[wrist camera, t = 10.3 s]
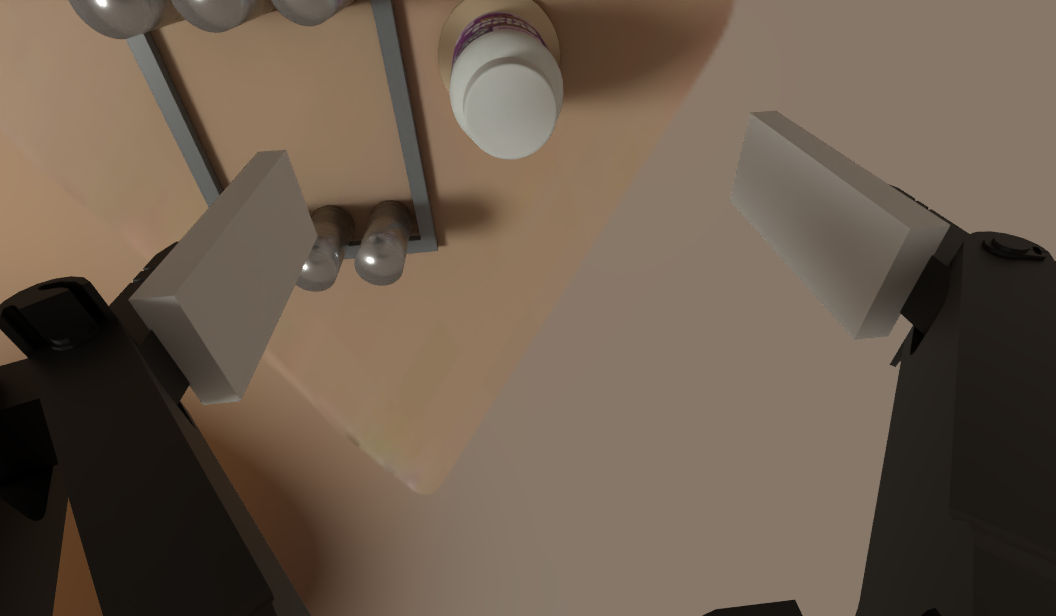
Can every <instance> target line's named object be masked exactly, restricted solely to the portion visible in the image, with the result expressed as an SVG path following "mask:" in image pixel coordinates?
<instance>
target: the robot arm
mask: <svg viewBox="0 0 1056 616" xmlns="http://www.w3.org/2000/svg"><path fill="white" fill-rule="evenodd" d="M730 201H731V202H732V204H733V205H734V206H735V207H736V208H737V209H738V210H739V211H740V212H741V213H742V215H743V216H744V217H745V218H746V219H747V220H748V221H749V223H751V225H752V226H753V227H754V228H755V229H756V230H757V231H758V233H759V234H760V235H761V236H762V237H763V238H764V239H765V240H766V242H767V243H768V244H769V245H770V246H771V247H772V248H773V249H774V250H775V252H776V253H777V254H778V255H779V256H780V257H781V258H782V259H783V260H784V262H785V263H786V264H787V265H788V266H789V267H790V268H791V269H792V270H793V272H794V273H795V274H796V275H797V276H798V277H799V278H800V280H801V281H802V282H803V283H804V284H805V285H806V286H807V287H808V288H809V290H810V291H811V292H812V293H813V294H814V295H815V296H816V297H817V299H818V300H819V301H820V302H821V303H822V304H823V305H824V306H825V307H826V309H827V310H828V311H829V312H830V313H831V314H832V315H833V316H834V317H835V319H836V320H837V321H838V322H839V323H840V324H841V325H842V326H843V327H844V329H845V330H846V331H847V332H848V333H849V334H850V335H851V336H852V338H853V339H864V338H874V337H884V336H888V335H889V333H890V332H891V330H892V328H893V326H894V325H895V323H896V321H897V319H898V318H899V316H900V314H902V315H903V316H904V317H905V318H906V319H907V320H908V321H910V322H911V323H912V324H913V327H912V328H911V330H910V332H909V333H908V335H907V337H906V339H905V340H904V342H903V343H902V345H901V347H900V348H899V350H898V352H897V353H896V355H895V357H894V358H893V360H892V362H891V363H890V365H892V366H895V367H896V366H897V364H898V363H899V362H900V361H901V365H900V370H899V376H898V382H897V388H896V393H895V400H894V405H893V411H892V417H891V422H890V428H889V434H888V440H887V445H886V451H885V457H884V464H883V469H882V474H881V480H880V486H879V492H878V497H877V504H876V509H875V515H874V520H873V526H872V532H871V538H870V544H869V549H868V555H867V561H866V567H865V573H864V579H863V584H862V590H861V596H860V601H859V605H858V609H857V612H856V615H855V616H1056V261H1054V259H1053V258H1052V256H1051V255H1050V253H1049V252H1048V251H1047V250H1045V249H1044V248H1043V247H1041V246H1039V245H1037V244H1035V243H1033V242H1031V241H1028V240H1026V239H1024V238H1020V237H1017V236H1013V235H1009V234H1005V233H998V232H975V233H972V234H969V233H967V232H966V231H964V230H962V229H961V228H959V227H958V226H956V225H955V224H953V223H952V222H950V221H948V220H947V219H945V218H944V217H942V216H941V215H939V214H938V213H936V212H935V211H933V210H928V207H927V206H925V205H924V204H922V203H921V202H919V201H915V198H913V197H912V196H910V195H908V194H907V193H905V192H904V191H902V190H901V189H899V188H897V187H894V186H892V185H889V184H887V183H886V182H884V181H882V180H881V179H879V178H878V177H876V176H875V175H873V174H872V173H870V172H869V171H867V170H866V169H864V168H863V167H861V166H860V165H858V164H856V163H855V162H853V161H852V160H850V159H849V158H847V157H846V156H844V155H843V154H841V153H840V152H838V151H837V150H835V149H834V148H832V147H830V146H829V145H828V144H826V143H824V142H823V141H821V140H820V139H818V138H817V137H815V136H814V135H812V134H811V133H809V132H808V131H806V130H804V129H803V128H802V127H800V126H798V125H797V124H795V123H794V122H792V121H791V120H789V119H788V118H786V117H785V116H783V115H782V114H780V113H779V112H777V111H767V112H754V113H750V115H749V120H748V124H747V129H746V133H745V137H744V141H743V145H742V150H741V154H740V158H739V162H738V167H737V171H736V176H735V180H734V184H733V188H732V193H731V197H730ZM317 237H318V236H317V233H316V230H315V227H314V225H313V222H312V219H311V217H310V214H309V211H308V208H307V206H306V203H305V200H304V197H303V195H302V192H301V189H300V187H299V184H298V181H297V178H296V176H295V173H294V170H293V167H292V165H291V162H290V159H289V157H288V154H287V151H286V150H277V151H264V152H257V154H256V155H255V156H254V157H253V158H252V159H251V160H250V162H249V163H248V164H247V165H246V166H245V167H244V168H243V169H242V171H241V172H240V173H239V174H238V175H237V176H236V177H235V179H234V180H233V181H232V182H231V183H230V184H229V185H228V187H227V188H226V189H225V190H224V191H223V192H222V193H221V195H220V196H219V197H218V198H217V199H216V200H215V201H214V203H213V204H212V205H211V206H210V207H209V208H208V209H207V211H206V212H205V213H204V214H203V215H202V216H201V217H200V219H199V220H198V221H197V222H196V223H195V224H194V225H193V227H192V228H191V229H190V230H189V231H188V232H187V233H186V234H185V236H184V237H183V238H182V239H181V240H180V241H179V242H175V243H173V244H172V245H170V246H169V247H167V248H166V249H164V250H162V251H161V252H159V253H158V254H156V255H155V256H154V257H153V258H152V259H151V261H150V262H149V263H148V264H147V265H146V266H145V267H144V268H143V269H144V271H141V272H140V273H139V274H138V275H137V276H136V277H135V278H134V279H133V283H130V284H129V285H128V286H127V287H126V288H125V289H124V290H123V291H122V293H120V295H119V296H118V297H117V298H116V299H115V300H114V301H113V302H112V303H111V304H110V306H108V305H107V303H106V302H105V301H104V300H103V298H102V297H101V296H100V294H99V293H98V292H97V290H96V289H95V288H94V286H93V285H92V284H91V282H90V281H88V280H87V279H85V278H84V277H72V276H71V277H64V278H57V279H52V280H49V281H46V282H42V283H39V284H36V285H34V286H31V287H29V288H27V289H25V290H22V291H20V292H18V293H16V294H15V295H13V296H12V297H10V298H8V299H7V300H5V301H4V302H3V303H2V304H0V329H1V330H2V331H3V332H4V333H5V334H6V335H7V336H8V338H9V339H11V341H12V342H13V343H14V344H15V345H16V346H17V347H18V348H19V349H20V350H21V351H22V352H23V353H24V354H25V355H26V356H27V357H28V358H27V359H24V360H20V361H17V362H13V363H10V364H6V365H2V366H0V616H52V614H53V607H54V599H55V592H56V584H57V577H58V570H59V562H60V555H61V547H62V540H63V532H64V525H65V517H66V510H67V503H68V497H69V501H70V504H71V507H72V511H73V514H74V518H75V521H76V525H77V528H78V532H79V535H80V538H81V542H82V545H83V548H84V552H85V556H86V559H87V562H88V566H89V569H90V572H91V576H92V579H93V583H94V586H95V590H96V593H97V597H98V600H99V603H100V607H101V610H102V614H103V616H311V615H310V613H309V611H308V610H307V608H306V606H305V605H304V603H303V601H302V600H301V598H300V597H299V595H298V593H297V591H296V590H295V588H294V586H293V585H292V583H291V582H290V580H289V578H288V577H287V575H286V573H285V572H284V570H283V568H282V567H281V565H280V563H279V562H278V560H277V558H276V557H275V555H274V553H273V552H272V550H271V548H270V547H269V545H268V544H267V542H266V540H265V538H264V537H263V535H262V533H261V532H260V530H259V529H258V527H257V525H256V523H255V522H254V520H253V518H252V517H251V515H250V513H249V512H248V510H247V509H246V507H245V505H244V503H243V502H242V500H241V498H240V497H239V495H238V493H237V492H236V490H235V489H234V487H233V485H232V484H231V482H230V480H229V479H228V477H227V475H226V474H225V472H224V470H223V469H222V467H221V465H220V464H219V462H218V460H217V459H216V457H215V455H214V454H213V452H212V450H211V449H210V447H209V446H208V444H207V442H206V440H205V439H204V437H203V436H202V434H201V432H200V430H199V429H198V427H197V426H196V424H195V422H194V421H193V419H192V417H191V415H190V414H189V412H188V411H187V410H186V408H185V407H184V406H183V404H182V403H181V401H180V400H181V398H182V396H183V395H184V393H185V391H186V390H187V388H188V386H190V387H191V388H192V390H193V391H194V392H195V394H196V395H197V397H198V398H199V399H200V401H201V402H202V404H203V405H204V404H215V403H225V402H235V401H241V400H242V397H243V395H244V393H245V391H246V389H247V387H248V384H249V382H250V380H251V378H252V376H253V374H254V371H255V370H256V367H257V365H258V363H259V361H260V359H261V357H262V355H263V352H264V350H265V348H266V346H267V344H268V342H269V340H270V337H271V335H272V333H273V331H274V329H275V327H276V325H277V322H278V320H279V318H280V316H281V314H282V312H283V310H284V307H285V305H286V303H287V301H288V299H289V297H290V295H291V292H292V290H293V288H294V286H295V284H296V282H297V280H298V277H299V275H300V273H301V271H302V269H303V267H304V265H305V262H306V260H307V258H308V256H309V254H310V252H311V250H312V247H313V245H314V243H315V241H316V239H317ZM703 616H802V614H801V611H800V609H799V607H798V605H797V603H796V601H795V600H789V601H781V602H773V603H764V604H757V605H748V606H740V607H731V608H723V609H716V610H714V611H712V612H709V613H707V614H705V615H703Z"/></svg>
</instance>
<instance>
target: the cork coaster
mask: <svg viewBox="0 0 1056 616" xmlns="http://www.w3.org/2000/svg"><path fill="white" fill-rule="evenodd" d="M492 11H505V12H511V13H513V14H516V15H518V16H520V17H522V18H524V19H525V20H527V21H528V22H529V23H530V24H532V25H533V26H534V28H535V29H536V30H537V31H538V33H539V34H540V36H541V37H542V39H543V40H544V42H545V44H546V45H547V47H548V49H549V50H550V52H551V54H552V55H553V57H554V58H555V60H556V62H557V64H558V66H559V69H560V46H559V41H558V37H557V34H556V31H555V29H554V27H553V25H552V23H551V21H550V19H549V18H548V16H547V15H546V14H545V12H544V11H543V10H542V9H541V7H539V6H538V5H537V4H536V3H535V2H534V1H533V0H463V1H462V2H461V3H460V4H459V5H458V6H457V7H456V8H455V9H454V10H453V12H452V13H451V14H450V16H449V18H448V19H447V21H446V23H445V25H444V28H443V30H442V34H441V37H440V42H439V48H438V61H439V69H440V74H441V77H442V80H443V83H444V85H445V87H446V89H447V91H448V93H449V94H450V91H449V86H450V76H451V68H452V60H453V54H454V49H455V45H456V42H457V40H458V38H459V36H460V34H461V32H462V30H463V29H464V28H465V27H466V26H467V25H468V24H469V23H470V22H471V21H472V20H473V19H475V18H476V17H478V16H480V15H482V14H485V13H488V12H492Z"/></svg>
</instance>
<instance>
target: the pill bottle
mask: <svg viewBox="0 0 1056 616" xmlns="http://www.w3.org/2000/svg"><path fill="white" fill-rule="evenodd" d="M449 91H450V100H451V107H452V109H453V112H454V115H455V117H456V120H457V121H458V123H459V125H460V126H461V128H462V129H463V130H464V132H465V133H466V134H467V135H468V136H469V137H470V138H471V139H473V141H474V142H475V143H476V144H477V145H478V146H479V147H480V148H481V149H482V150H484V151H485V152H487V153H488V154H490V155H492V156H495V157H498V158H502V159H519V158H524V157H526V156H529V155H531V154H533V153H534V152H536V151H537V150H539V149H540V148H541V147H542V146H543V145H544V144H545V143H546V142H547V140H548V139H549V138H550V136H551V134H552V132H553V130H554V127H555V124H556V121H557V119H558V116H559V114H560V111H561V107H562V103H563V79H562V74H561V71H560V69H559V66H558V64H557V62H556V60H555V58H554V57H553V55H552V54H551V52H550V50H549V49H548V47H547V45H546V44H545V42H544V40H543V39H542V37H541V36H540V34H539V33H538V31H537V30H536V29H535V28H534V26H533V25H532V24H530V23H529V22H528V21H527V20H525V19H524V18H522V17H520V16H518V15H516V14H513V13H511V12H505V11H492V12H488V13H485V14H482V15H480V16H478V17H476V18H475V19H473V20H472V21H471V22H470V23H469V24H468V25H467V26H466V27H465V28H464V29H463V30H462V32H461V34H460V36H459V38H458V40H457V42H456V45H455V49H454V54H453V60H452V68H451V76H450V86H449Z"/></svg>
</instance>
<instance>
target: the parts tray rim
mask: <svg viewBox="0 0 1056 616" xmlns="http://www.w3.org/2000/svg"><path fill="white" fill-rule="evenodd" d="M371 4H372V8H373V13H374V18H375V23H376V28H377V32H378V37H379V42H380V47H381V51H382V56H383V61H384V66H385V70H386V75H387V80H388V85H389V89H390V94H391V99H392V104H393V108H394V113H395V118H396V123H397V127H398V132H399V137H400V142H401V146H402V151H403V156H404V161H405V165H406V170H407V175H408V180H409V185H410V189H411V194H412V199H413V204H414V208H415V213H416V218H417V223H418V227H419V232H420V236H413V237H409V242H408V247H407V252H406V254H408V253H419V252H430V251H438V243H437V238H436V232H435V227H434V222H433V216H432V211H431V206H430V200H429V195H428V190H427V184H426V179H425V174H424V168H423V163H422V158H421V152H420V147H419V142H418V136H417V131H416V126H415V120H414V115H413V110H412V104H411V99H410V94H409V88H408V83H407V78H406V72H405V67H404V62H403V56H402V51H401V46H400V40H399V35H398V30H397V24H396V19H395V14H394V8H393V3H392V0H371ZM126 41H127V43H128V45H129V47H130V49H131V51H132V53H133V55H134V57H135V59H136V61H137V63H138V65H139V67H140V69H141V71H142V73H143V75H144V77H145V79H146V81H147V83H148V85H149V87H150V89H151V91H152V94H153V96H154V98H155V100H156V102H157V104H158V106H159V108H160V110H161V112H162V114H163V116H164V118H165V120H166V122H167V124H168V126H169V128H170V130H171V132H172V134H173V136H174V138H175V140H176V142H177V144H178V146H179V148H180V150H181V152H182V154H183V156H184V158H185V160H186V162H187V164H188V166H189V168H190V170H191V173H192V175H193V177H194V179H195V181H196V183H197V185H198V187H199V189H200V191H201V193H202V195H203V197H204V199H205V201H206V203H207V205H208V207H210V206H211V205H212V204H213V203H214V201H215V200H216V199H217V198H218V197H219V196H220V195H221V193H222V192H223V190H222V188H221V186H220V183H219V181H218V179H217V177H216V175H215V173H214V170H213V168H212V166H211V164H210V162H209V160H208V157H207V155H206V153H205V151H204V149H203V147H202V145H201V142H200V140H199V138H198V136H197V134H196V132H195V129H194V127H193V125H192V123H191V121H190V119H189V117H188V114H187V112H186V110H185V108H184V106H183V104H182V101H181V99H180V97H179V95H178V93H177V91H176V88H175V86H174V84H173V82H172V80H171V78H170V76H169V73H168V71H167V69H166V67H165V65H164V63H163V60H162V58H161V56H160V54H159V52H158V50H157V47H156V45H155V43H154V41H153V39H152V37H151V35H150V32H146V33H143V34H140V35H137V36H134V37H131V38H128V39H126ZM360 244H361V241H356V242H350V243H349V246H348V248H347V251H346V254H345V256H344V259H352V258H356V255H357V252H358V249H359V247H360Z"/></svg>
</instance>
